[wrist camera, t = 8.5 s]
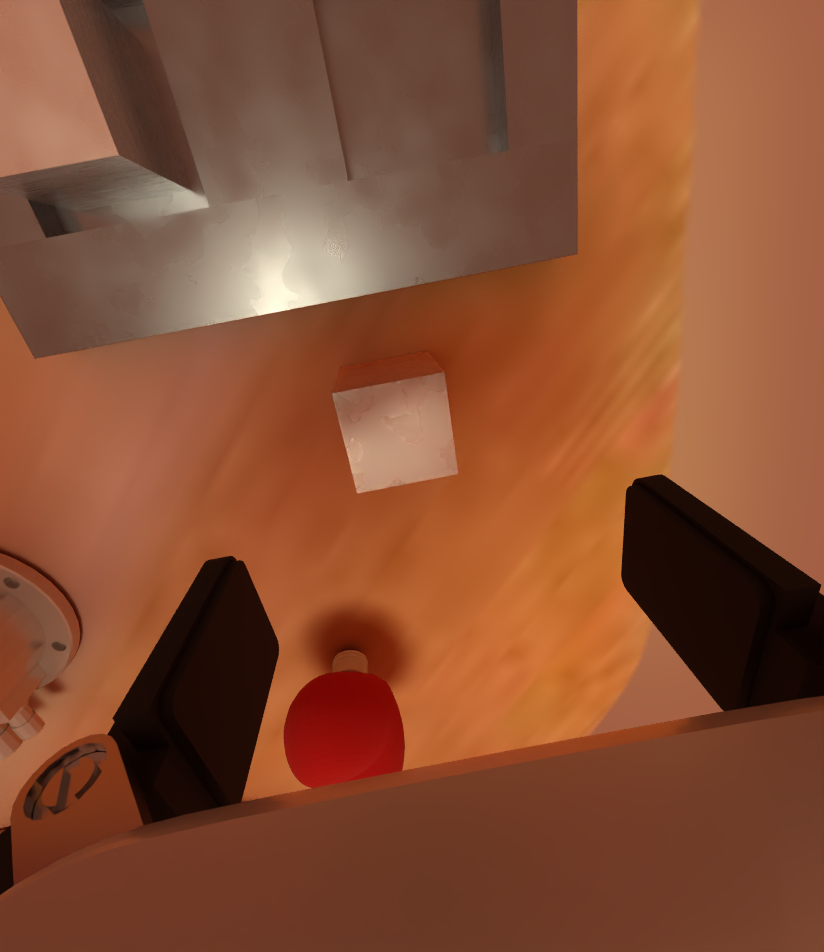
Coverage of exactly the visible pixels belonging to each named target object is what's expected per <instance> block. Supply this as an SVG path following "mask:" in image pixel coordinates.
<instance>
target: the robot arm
mask: <svg viewBox="0 0 824 952" xmlns="http://www.w3.org/2000/svg"><path fill="white" fill-rule="evenodd" d="M621 577H622V581H623V584H624V586H625V588H626V590H627V591H628V592H629V594H630V595H631V596H632V597H633V599H634V600H635V601H636V602H637V604H638V605H639V606H640V607H641V609H642V610H643V611H644V612H645V614H646V615H647V616H648V617H649V619H650V620H651V621H652V622H653V624H654V625H655V626H656V627H657V629H658V630H659V631H660V632H661V633H662V635H663V636H664V637H665V639H666V640H667V641H668V642H669V644H670V645H671V646H672V647H673V649H674V650H675V651H676V653H677V654H678V655H679V656H680V658H681V659H682V660H683V661H684V663H685V664H686V665H687V666H688V668H689V669H690V670H691V671H692V672H693V674H694V675H695V676H696V678H697V679H698V680H699V681H700V683H701V684H702V685H703V686H704V688H705V689H706V690H707V691H708V693H709V694H710V695H711V696H712V698H713V699H714V700H715V701H716V703H717V704H718V705H719V706H720V708H721V709H722V710H723V711H724V712H718V713H712V714H707V715H701V716H695V717H690V718H684V719H679V720H674V721H668V722H663V723H657V724H651V725H646V726H641V727H635V728H629V729H624V730H619V731H613V732H608V733H602V734H597V735H591V736H585V737H580V738H574V739H569V740H564V741H558V742H553V743H548V744H542V745H537V746H531V747H526V748H521V749H515V750H510V751H505V752H499V753H494V754H489V755H483V756H478V757H473V758H467V759H462V760H457V761H452V762H446V763H441V764H436V765H430V766H425V767H420V768H414V769H409V770H404V771H399V772H394V773H388V774H383V775H378V776H373V777H368V778H363V779H358V780H352V781H347V782H342V783H337V784H332V785H327V786H321V787H316V788H311V789H306V790H301V791H296V792H290V793H285V794H280V795H275V796H270V797H265V798H261V799H256V800H251V801H247V802H242V803H240V802H241V800H242V797H243V793H244V789H245V785H246V781H247V777H248V773H249V769H250V765H251V761H252V757H253V754H254V750H255V746H256V742H257V738H258V734H259V730H260V726H261V722H262V718H263V714H264V710H265V706H266V702H267V699H268V695H269V691H270V687H271V683H272V679H273V675H274V671H275V667H276V663H277V659H278V655H279V644H278V640H277V637H276V635H275V633H274V630H273V628H272V626H271V623H270V621H269V619H268V616H267V614H266V612H265V610H264V607H263V605H262V603H261V600H260V598H259V596H258V593H257V591H256V589H255V586H254V584H253V582H252V579H251V577H250V575H249V572H248V570H247V568H246V566H245V564H244V562H243V561H241V560H239V561H237V560H236V559H235V558H234V557H233V556H228V557H222V558H217V559H212V560H208V561H206V562H205V563H204V565H203V566H202V568H201V570H200V572H199V573H198V575H197V577H196V578H195V580H194V582H193V583H192V585H191V587H190V588H189V590H188V592H187V594H186V595H185V597H184V599H183V600H182V602H181V604H180V605H179V607H178V609H177V610H176V612H175V614H174V615H173V617H172V619H171V621H170V622H169V624H168V626H167V627H166V629H165V631H164V632H163V634H162V636H161V637H160V639H159V641H158V643H157V644H156V646H155V648H154V649H153V651H152V653H151V654H150V656H149V658H148V659H147V661H146V663H145V664H144V666H143V668H142V670H141V671H140V673H139V675H138V676H137V678H136V680H135V681H134V683H133V685H132V686H131V688H130V690H129V692H128V693H127V695H126V697H125V698H124V700H123V702H122V703H121V705H120V707H119V708H118V710H117V712H116V713H115V715H114V717H113V720H114V721H115V723H114V724H113V726H112V728H111V730H110V731H109V733H108V735H105V734H97V735H90V736H87V737H84V738H82V739H79V740H76V741H75V742H73V743H71V744H69V745H68V746H66V747H64V748H63V749H61V750H60V751H58V752H57V753H56V754H54V755H53V756H52V757H51V758H49V759H48V760H47V761H46V762H45V763H44V764H43V765H42V766H41V767H40V768H39V769H38V770H37V771H36V772H35V773H34V774H33V775H32V776H31V777H30V778H29V780H28V781H27V782H26V784H25V785H24V786H23V788H22V789H21V790H20V792H19V794H18V796H17V798H16V800H15V802H14V804H13V807H12V813H11V826H10V827H8V828H7V829H6V830H5V831H3V832H2V833H1V834H0V952H824V595H822V594H820V593H819V591H820V587H821V584H819V583H818V582H817V581H815V580H814V579H812V578H811V577H809V576H808V575H807V574H805V573H804V572H802V571H801V570H799V569H798V568H796V567H795V566H793V565H792V564H791V563H789V562H788V561H786V560H785V559H784V558H782V557H781V556H779V555H778V554H776V553H775V552H773V551H772V550H770V549H769V548H768V547H766V546H765V545H763V544H762V543H761V542H759V541H758V540H756V539H755V538H753V537H751V536H750V535H749V534H748V533H746V532H745V531H743V530H742V529H740V528H739V527H738V526H736V525H735V524H733V523H732V522H730V521H729V520H728V519H726V518H725V517H723V516H722V515H720V514H719V513H717V512H716V511H715V510H713V509H712V508H710V507H709V506H707V505H706V504H704V503H703V502H701V501H700V500H699V499H697V498H696V497H694V496H693V495H692V494H690V493H689V492H687V491H685V490H684V489H683V488H681V487H680V486H679V485H677V484H676V483H674V482H673V481H671V480H670V479H669V478H667V477H666V476H664V475H654V476H649V477H643V478H638V479H636V480H634V482H633V484H632V486H629V487H628V488H627V490H626V502H625V519H624V536H623V554H622V571H621ZM79 641H80V629H79V622H78V620H77V617H76V615H75V612H74V610H73V608H72V607H71V605H70V604H69V602H68V601H67V599H66V598H65V596H64V595H63V594H62V593H61V592H60V591H59V590H58V589H57V588H56V587H55V586H54V585H53V584H52V583H51V582H50V581H49V580H48V579H46V578H45V577H44V576H42V575H41V574H40V573H38V572H37V571H36V570H34V569H33V568H31V567H29V566H27V565H25V564H24V563H22V562H20V561H18V560H16V559H14V558H12V557H9V556H7V555H4V554H2V553H0V761H1V760H3V759H5V758H7V757H8V756H10V755H11V754H12V753H14V752H15V751H16V750H17V749H18V748H19V747H20V746H21V744H22V742H23V740H27V739H30V738H32V737H34V736H35V735H36V734H38V733H39V732H40V731H41V730H42V729H43V727H44V725H45V723H44V721H43V720H42V719H41V718H40V716H39V715H38V714H37V713H36V712H35V711H34V710H32V709H31V708H30V707H29V706H28V703H29V699H30V698H29V697H30V695H31V694H32V693H33V692H34V690H36V689H39V688H41V687H43V686H45V685H46V684H48V683H50V682H52V681H53V680H54V679H55V678H57V677H58V676H59V675H60V674H61V673H62V672H63V671H64V670H65V668H66V667H67V666H68V664H69V663H70V662H71V661H72V659H73V658H74V656H75V654H76V652H77V650H78V647H79Z"/></svg>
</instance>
